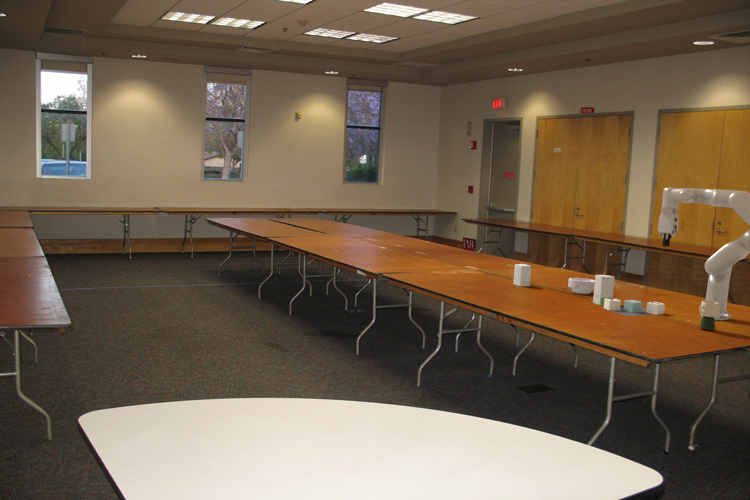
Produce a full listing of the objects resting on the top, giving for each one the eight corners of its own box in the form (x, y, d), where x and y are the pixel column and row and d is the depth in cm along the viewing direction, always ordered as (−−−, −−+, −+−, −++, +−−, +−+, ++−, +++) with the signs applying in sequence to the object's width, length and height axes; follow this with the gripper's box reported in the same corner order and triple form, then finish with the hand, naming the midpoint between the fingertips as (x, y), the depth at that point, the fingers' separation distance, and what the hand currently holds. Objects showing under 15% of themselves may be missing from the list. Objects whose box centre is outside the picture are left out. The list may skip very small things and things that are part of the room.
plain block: (641, 312, 335) (642, 302, 334) (632, 312, 333) (633, 302, 332) (632, 309, 340) (633, 300, 340) (623, 309, 338) (624, 300, 338)
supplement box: (530, 286, 399) (531, 265, 397) (519, 286, 396) (521, 265, 395) (523, 284, 406) (524, 263, 404) (512, 284, 403) (514, 264, 401)
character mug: (711, 327, 309) (714, 300, 307) (722, 331, 302) (725, 303, 300) (691, 328, 306) (694, 300, 304) (703, 332, 299) (706, 304, 297)
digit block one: (663, 313, 333) (664, 303, 333) (656, 314, 330) (657, 304, 330) (653, 311, 338) (654, 301, 338) (646, 312, 335) (647, 302, 335)
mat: (663, 314, 333) (664, 313, 333) (626, 316, 324) (626, 316, 324) (637, 307, 349) (638, 306, 349) (601, 308, 341) (601, 308, 341)
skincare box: (599, 305, 349) (601, 276, 347) (592, 303, 355) (594, 274, 353) (612, 305, 351) (615, 276, 349) (605, 302, 357) (608, 274, 355)
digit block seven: (620, 310, 337) (621, 300, 336) (609, 310, 336) (609, 300, 335) (614, 307, 343) (615, 298, 342) (603, 307, 342) (604, 297, 341)
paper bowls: (591, 291, 391) (592, 278, 390) (597, 296, 376) (598, 282, 375) (565, 289, 393) (566, 276, 392) (570, 294, 378) (571, 280, 377)
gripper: (686, 212, 336) (682, 248, 339) (663, 210, 350) (660, 244, 352) (675, 212, 334) (671, 248, 336) (652, 210, 347) (649, 244, 350)
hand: (665, 246), depth 344 cm, fingers closed
